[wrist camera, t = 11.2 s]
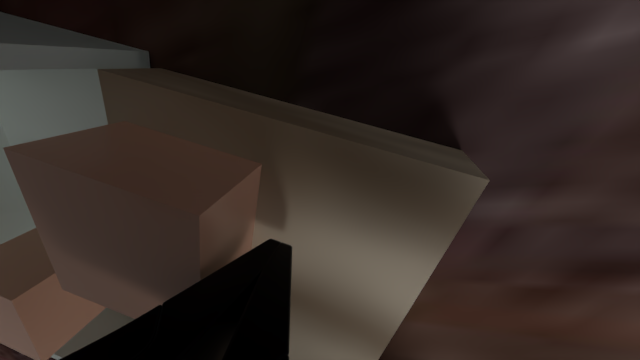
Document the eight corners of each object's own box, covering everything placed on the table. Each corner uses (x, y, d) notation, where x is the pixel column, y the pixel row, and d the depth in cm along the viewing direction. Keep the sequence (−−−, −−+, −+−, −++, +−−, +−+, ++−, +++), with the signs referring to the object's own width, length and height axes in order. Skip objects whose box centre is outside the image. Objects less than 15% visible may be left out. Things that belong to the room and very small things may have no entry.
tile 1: (248, 271, 10) (201, 345, 7) (142, 233, 11) (62, 289, 8) (261, 163, 8) (199, 216, 5) (125, 120, 8) (2, 147, 6)
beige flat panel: (344, 374, 16) (338, 423, 14) (181, 310, 17) (152, 347, 15) (461, 150, 9) (489, 180, 6) (160, 68, 10) (97, 69, 8)
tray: (175, 312, 18) (115, 385, 14) (64, 269, 19) (-22, 324, 15) (148, 51, 10) (-14, 42, 6) (-42, 0, 11) (-293, -37, 7)
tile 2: (43, 363, 12) (-11, 337, 12) (135, 281, 16) (96, 263, 16) (11, 300, 9) (-55, 270, 9) (130, 224, 14) (84, 204, 14)
